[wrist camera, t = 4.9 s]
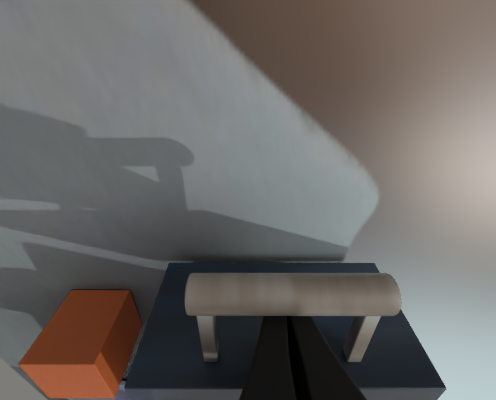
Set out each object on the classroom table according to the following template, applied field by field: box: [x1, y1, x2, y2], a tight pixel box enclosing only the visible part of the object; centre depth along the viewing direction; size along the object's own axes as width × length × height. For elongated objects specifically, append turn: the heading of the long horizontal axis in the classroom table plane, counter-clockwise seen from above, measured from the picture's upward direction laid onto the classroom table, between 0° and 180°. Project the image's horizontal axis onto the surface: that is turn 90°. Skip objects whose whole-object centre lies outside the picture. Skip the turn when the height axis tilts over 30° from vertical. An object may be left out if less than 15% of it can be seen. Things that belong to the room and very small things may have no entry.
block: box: [18, 290, 142, 398], centre depth 17 cm, size 4×4×5 cm
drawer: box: [124, 263, 446, 400], centre depth 15 cm, size 17×13×7 cm
